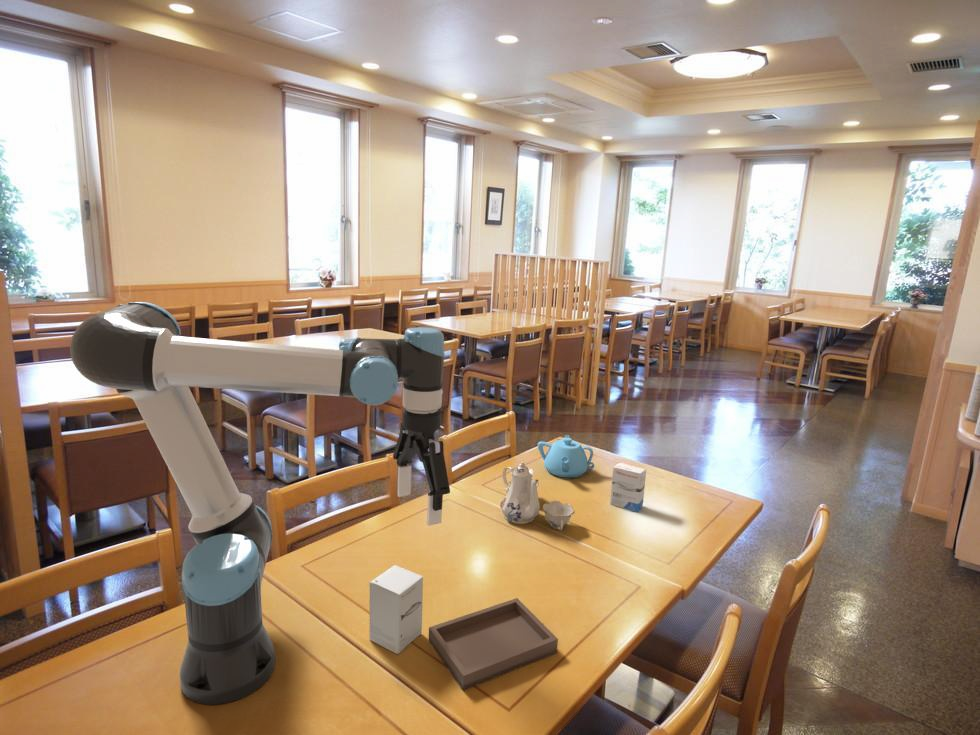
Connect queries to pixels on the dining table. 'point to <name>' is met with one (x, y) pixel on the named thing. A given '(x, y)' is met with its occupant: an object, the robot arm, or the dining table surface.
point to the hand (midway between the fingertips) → (418, 508)
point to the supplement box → (396, 608)
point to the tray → (491, 642)
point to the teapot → (566, 458)
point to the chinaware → (530, 500)
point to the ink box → (628, 487)
